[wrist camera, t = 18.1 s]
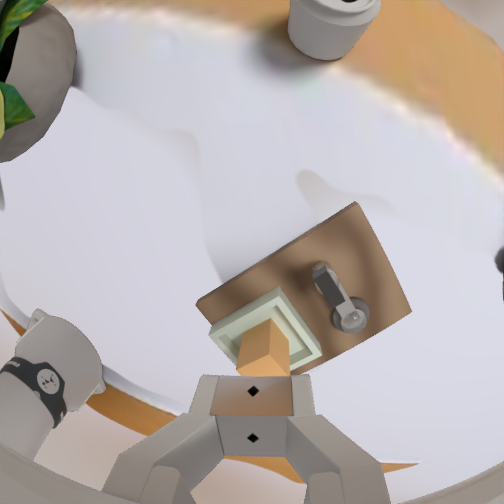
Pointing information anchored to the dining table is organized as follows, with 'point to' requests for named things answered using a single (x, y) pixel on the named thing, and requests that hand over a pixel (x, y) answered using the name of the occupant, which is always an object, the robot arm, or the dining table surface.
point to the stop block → (264, 351)
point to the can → (329, 25)
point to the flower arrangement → (32, 71)
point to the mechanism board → (304, 288)
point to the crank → (338, 298)
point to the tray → (256, 312)
